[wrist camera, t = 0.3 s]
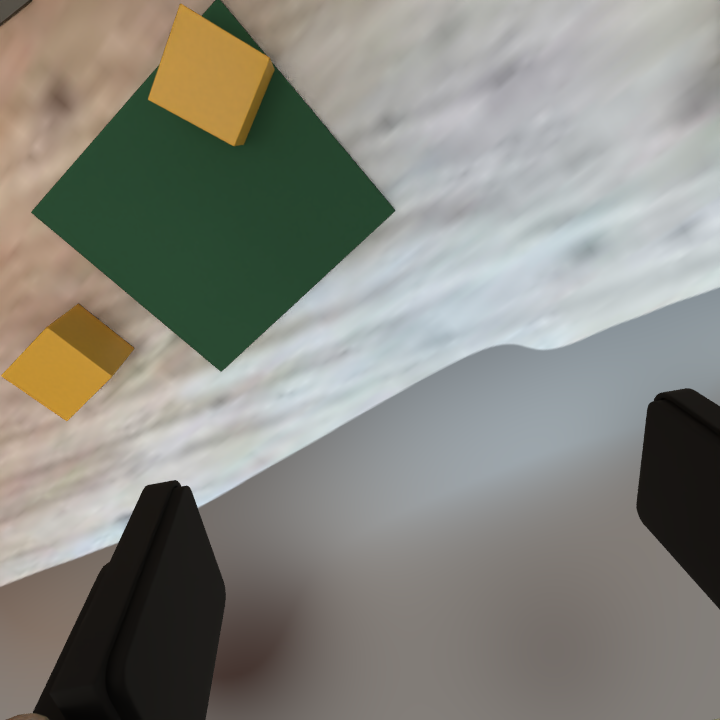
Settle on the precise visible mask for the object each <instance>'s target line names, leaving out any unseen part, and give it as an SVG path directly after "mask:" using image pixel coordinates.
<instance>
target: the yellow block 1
mask: <svg viewBox="0 0 720 720" xmlns="http://www.w3.org/2000/svg"><path fill="white" fill-rule="evenodd" d="M133 350H134V348H133V347H132V346H131V345H130V344H128V343H127V342H126V341H125V340H123V339H122V338H121V337H120V336H118V335H117V334H116V333H115V332H113V331H112V330H111V329H110V328H108V327H107V326H106V325H105V324H103V323H102V322H101V321H99V320H98V319H97V318H96V317H94V316H93V315H92V314H91V313H89V312H88V311H87V310H86V309H84V308H83V307H82V306H81V305H79V304H77V305H76V306H74V307H73V308H72V309H70V310H69V311H68V312H66V313H65V314H64V315H62V316H61V317H60V318H58V319H57V320H56V321H54V322H53V323H52V324H50V325H49V326H48V327H46V328H45V330H44V331H43V332H42V333H41V334H40V335H39V336H38V337H37V338H36V339H35V340H34V341H33V342H32V343H31V344H30V345H29V347H28V348H27V349H26V350H25V351H24V352H23V353H22V354H21V355H20V356H19V357H18V358H17V359H16V360H15V361H14V362H13V364H12V365H11V366H10V367H9V368H8V369H7V370H6V371H5V372H4V373H3V374H2V375H1V376H2V377H3V378H5V379H6V380H7V381H9V382H10V383H12V384H13V385H15V386H16V387H18V388H19V389H21V390H22V391H23V392H25V393H26V394H28V395H29V396H31V397H32V398H34V399H35V400H37V401H38V402H39V403H41V404H42V405H44V406H45V407H47V408H48V409H50V410H51V411H53V412H54V413H55V414H57V415H58V416H60V417H61V418H63V419H64V420H66V421H68V420H69V419H70V418H71V417H72V416H73V415H74V414H75V413H76V412H77V411H78V410H79V409H80V408H81V407H82V406H83V405H84V404H85V403H86V402H87V401H88V400H89V399H90V398H91V397H92V396H93V395H94V394H95V393H96V392H97V391H98V390H99V389H100V388H101V387H102V386H103V385H104V384H105V383H106V382H107V381H108V380H109V379H110V378H111V377H112V376H113V375H114V374H115V372H116V371H117V370H118V369H119V367H120V366H121V365H122V364H123V362H124V361H125V360H126V359H127V357H128V356H129V355H130V354H131V352H132V351H133Z"/></svg>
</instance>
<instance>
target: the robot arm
mask: <svg viewBox="0 0 720 720" xmlns="http://www.w3.org/2000/svg"><path fill="white" fill-rule="evenodd" d="M637 512H638V515H639V517H640V519H641V521H642V522H643V524H644V525H645V526H646V527H647V528H648V529H649V531H650V532H651V533H652V534H653V535H654V536H655V537H656V538H657V539H658V541H659V542H660V543H661V544H662V545H663V546H664V547H665V548H666V550H667V551H668V552H669V553H670V554H671V555H672V556H673V557H674V559H675V560H676V561H677V562H678V563H679V564H680V565H681V566H682V568H683V569H684V570H685V571H686V572H687V573H688V574H689V575H690V577H691V578H692V579H693V580H694V581H695V582H696V583H697V584H698V586H699V587H700V588H701V589H702V590H703V591H704V592H705V593H706V594H707V596H708V597H709V598H710V599H711V600H712V601H713V602H714V603H715V604H716V606H717V607H718V608H719V609H720V406H718V405H717V404H715V403H714V402H712V401H710V400H709V399H707V398H706V397H704V396H703V395H701V394H699V393H698V392H696V391H694V390H692V389H687V388H685V389H680V390H674V391H669V392H663V393H660V394H658V395H657V396H656V397H655V398H654V402H651V403H650V404H649V405H648V409H647V417H646V425H645V434H644V443H643V451H642V460H641V469H640V478H639V486H638V495H637ZM225 600H226V593H225V585H224V581H223V579H222V576H221V573H220V570H219V567H218V564H217V562H216V559H215V556H214V553H213V550H212V547H211V545H210V542H209V539H208V536H207V534H206V531H205V528H204V525H203V522H202V519H201V516H200V514H199V511H198V508H197V505H196V502H195V499H194V497H193V494H192V491H191V489H190V487H189V486H182V487H181V485H180V483H179V482H178V481H176V480H174V481H168V482H162V483H157V484H151V485H147V486H145V488H144V489H143V491H142V493H141V495H140V498H139V500H138V502H137V504H136V506H135V508H134V511H133V513H132V515H131V517H130V519H129V521H128V524H127V526H126V528H125V530H124V532H123V534H122V537H121V539H120V541H119V543H118V545H117V547H116V550H115V552H114V554H113V556H112V558H111V561H110V562H109V563H107V564H106V565H105V566H103V568H102V569H101V571H100V573H99V574H98V576H97V579H96V581H95V583H94V585H93V587H92V589H91V591H90V593H89V595H88V597H87V600H86V602H85V604H84V606H83V608H82V610H81V612H80V614H79V617H78V618H77V621H76V623H75V625H74V627H73V629H72V631H71V633H70V635H69V637H68V640H67V642H66V644H65V646H64V648H63V650H62V652H61V654H60V656H59V659H58V661H57V663H56V665H55V667H54V669H53V671H52V673H51V675H50V678H49V680H48V682H47V684H46V687H45V688H44V690H43V692H42V694H41V696H40V699H39V701H38V703H37V705H36V707H35V710H34V711H33V713H30V714H21V715H17V716H14V717H12V718H9V719H7V720H205V719H206V713H207V707H208V701H209V695H210V689H211V684H212V678H213V671H214V666H215V660H216V654H217V648H218V642H219V636H220V631H221V625H222V619H223V613H224V607H225ZM714 720H720V718H719V719H714Z"/></svg>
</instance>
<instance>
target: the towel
mask: <svg viewBox="0 0 720 720" xmlns="http://www.w3.org/2000/svg"><path fill="white" fill-rule="evenodd" d="M202 17H204V18H205V19H207V20H209V21H210V22H212V23H214V24H215V25H217V26H218V27H220V28H222V29H223V30H225V31H227V32H228V33H230V34H232V35H233V36H235V37H237V38H238V39H240V40H242V41H243V42H245V43H246V44H248V45H250V46H251V47H253V48H255V49H256V50H258V51H260V52H261V53H263V54H265V53H264V52H263V51H262V50H261V49H260V47H259V46H258V45H257V44H256V43H255V41H254V40H253V39H252V38H251V37H250V35H249V34H248V33H247V32H246V30H245V29H244V28H243V27H242V26H241V24H240V23H239V22H238V21H237V20H236V18H235V17H234V16H233V15H232V14H231V12H230V11H229V10H228V9H227V8H226V6H225V5H224V4H223V3H222V2H221V0H215V1H214V2H213V4H212V5H211V6H210V7H209V8H208V9H207V10H206V12H205V13H204V14H203V15H202ZM272 64H273V63H272ZM159 65H160V64H159ZM273 67H274V69H275V70H274V73H273V75H272V78H271V80H270V82H269V85H268V87H267V90H266V92H265V95H264V97H263V99H262V102H261V104H260V107H259V109H258V111H257V114H256V116H255V119H254V121H253V124H252V126H251V128H250V131H249V133H248V136H247V138H246V141H245V143H244V145H239V146H232V145H230V144H229V143H227V142H225V141H223V140H221V139H219V138H218V137H216V136H214V135H212V134H210V133H208V132H206V131H205V130H203V129H201V128H199V127H197V126H195V125H194V124H192V123H190V122H188V121H186V120H184V119H182V118H181V117H179V116H177V115H175V114H173V113H171V112H170V111H168V110H166V109H164V108H162V107H160V106H159V105H157V104H155V103H153V102H151V101H149V100H148V97H149V94H150V91H151V88H152V85H153V82H154V79H155V76H156V73H157V71H158V68H159V66H158V67H157V68H156V69H155V70H154V71H153V73H152V74H151V75H150V76H149V77H148V78H147V79H146V81H145V82H144V83H143V84H142V85H141V86H140V87H139V89H138V90H137V91H136V92H135V93H134V94H133V96H132V97H131V98H130V99H129V100H128V101H127V102H126V104H125V105H124V106H123V107H122V108H121V109H120V110H119V112H118V113H117V114H116V115H115V116H114V117H113V119H112V120H111V121H110V122H109V123H108V124H107V125H106V127H105V128H104V129H103V130H102V131H101V132H100V133H99V135H98V136H97V137H96V138H95V139H94V140H93V142H92V143H91V144H90V145H89V146H88V147H87V148H86V150H85V151H84V152H83V153H82V154H81V155H80V156H79V158H78V159H77V160H76V161H75V162H74V163H73V165H72V166H71V167H70V168H69V169H68V170H67V171H66V173H65V174H64V175H63V176H62V177H61V178H60V179H59V181H58V182H57V183H56V184H55V185H54V186H53V188H52V189H51V190H50V191H49V192H48V193H47V194H46V196H45V197H44V198H43V199H42V200H41V201H40V202H39V204H38V205H37V206H36V207H35V208H34V209H33V211H32V212H31V213H32V214H34V215H35V216H36V217H37V218H38V219H40V220H41V221H42V222H43V223H44V224H46V225H47V226H48V227H49V228H50V229H51V230H53V231H54V232H55V233H56V234H57V235H59V236H60V237H61V238H62V239H63V240H65V241H66V242H67V243H68V244H69V245H71V246H72V247H73V248H74V249H75V250H76V251H78V252H79V253H80V254H81V255H82V256H84V257H85V258H86V259H87V260H88V261H90V262H91V263H92V264H93V265H94V266H96V267H97V268H98V269H99V270H100V271H102V272H103V273H104V274H105V275H106V276H107V277H109V278H110V279H111V280H112V281H113V282H115V283H116V284H117V285H118V286H119V287H121V288H122V289H123V290H124V291H125V292H127V293H128V294H129V295H130V296H131V297H132V298H134V299H135V300H136V301H137V302H138V303H140V304H141V305H142V306H143V307H144V308H146V309H147V310H148V311H149V312H150V313H152V314H153V315H154V316H155V317H156V318H158V319H159V320H160V321H161V322H162V323H163V324H165V325H166V326H167V327H168V328H169V329H171V330H172V331H173V332H174V333H175V334H177V335H178V336H179V337H180V338H181V339H183V340H184V341H185V342H186V343H187V344H188V345H190V346H191V347H192V348H193V349H194V350H196V351H197V352H198V353H199V354H200V355H202V356H203V357H204V358H205V359H206V360H208V361H209V362H210V363H211V364H212V365H214V366H215V367H216V368H217V369H218V370H219V371H223V370H224V369H225V368H226V367H227V366H228V365H229V364H230V363H231V362H232V361H233V360H235V359H236V358H237V357H238V356H239V355H240V354H241V353H242V352H243V351H244V350H245V349H246V348H247V347H249V346H250V345H251V344H252V343H253V342H254V341H255V340H256V339H257V338H258V337H259V336H260V335H262V334H263V333H264V332H265V331H266V330H267V329H268V328H269V327H270V326H271V325H272V324H273V323H275V322H276V321H277V320H278V319H279V318H280V317H281V316H282V315H283V314H284V313H285V312H286V311H287V310H289V309H290V308H291V307H292V306H293V305H294V304H295V303H296V302H297V301H298V300H299V299H300V298H302V297H303V296H304V295H305V294H306V293H307V292H308V291H309V290H310V289H311V288H312V287H313V286H315V285H316V284H317V283H318V282H319V281H320V280H321V279H322V278H323V277H324V276H325V275H326V274H328V273H329V272H330V271H331V270H332V269H333V268H334V267H335V266H336V265H337V264H338V263H339V262H340V261H342V260H343V259H344V258H345V257H346V256H347V255H348V254H349V253H350V252H351V251H352V250H353V249H355V248H356V247H357V246H358V245H359V244H360V243H361V242H362V241H363V240H364V239H365V238H366V237H368V236H369V235H370V234H371V233H372V232H373V231H374V230H375V229H376V228H377V227H378V226H379V225H380V224H382V223H383V222H384V221H385V220H386V219H387V218H388V217H389V216H390V215H391V214H392V213H393V212H395V209H394V208H393V207H392V206H391V205H390V203H389V202H388V201H387V200H386V199H385V197H384V196H383V195H382V194H381V193H380V191H379V190H378V189H377V188H376V187H375V185H374V184H373V183H372V182H371V181H370V179H369V178H368V177H367V176H366V175H365V173H364V172H363V171H362V170H361V169H360V167H359V166H358V165H357V164H356V163H355V161H354V160H353V159H352V158H351V157H350V155H349V154H348V153H347V152H346V151H345V149H344V148H343V147H342V146H341V145H340V143H339V142H338V141H337V140H336V139H335V137H334V136H333V135H332V134H331V133H330V131H329V130H328V129H327V128H326V127H325V125H324V124H323V123H322V122H321V121H320V119H319V118H318V117H317V116H316V115H315V113H314V112H313V111H312V110H311V109H310V107H309V106H308V105H307V104H306V103H305V101H304V100H303V99H302V98H301V97H300V95H299V94H298V93H297V92H296V91H295V89H294V88H293V87H292V86H291V85H290V83H289V82H288V81H287V80H286V79H285V77H284V76H283V75H282V74H281V73H280V71H279V70H278V69H277V68H276V67H275V65H274V64H273Z"/></svg>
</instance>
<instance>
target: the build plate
mask: <svg viewBox="0 0 720 720" xmlns="http://www.w3.org/2000/svg"><path fill="white" fill-rule="evenodd" d="M31 1H32V0H0V26H1V25H2V24H3V23H5V22H6V21H7V20H8V19H10V18H11V17H12V16H14V15H15V14H16V13H17V12H19V11H20V10H21V9H22V8H24V7H25V6H26V5H27V4H29V3H30V2H31Z"/></svg>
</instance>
